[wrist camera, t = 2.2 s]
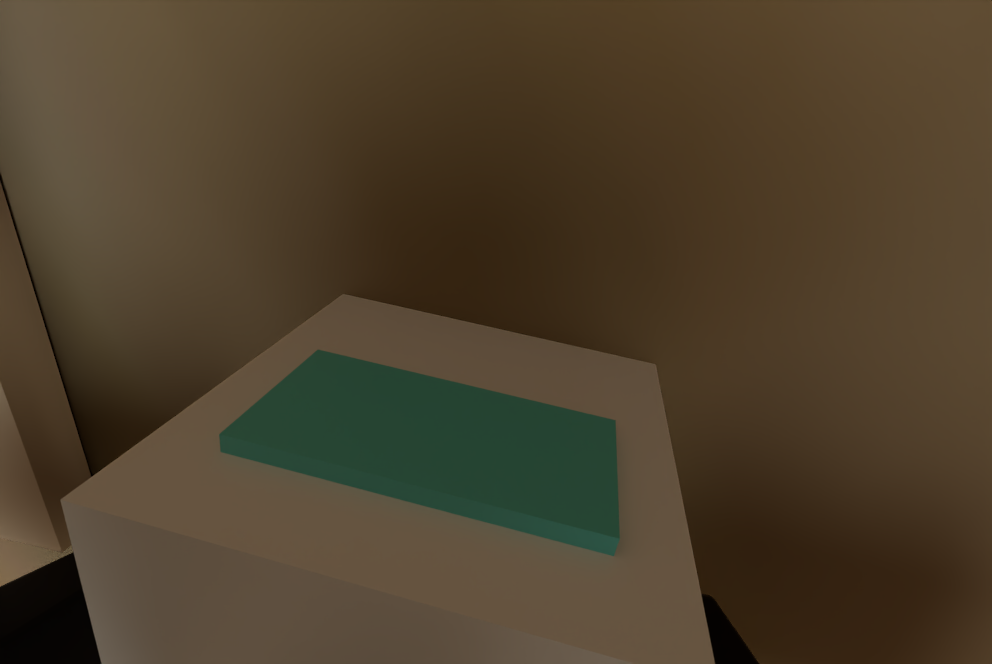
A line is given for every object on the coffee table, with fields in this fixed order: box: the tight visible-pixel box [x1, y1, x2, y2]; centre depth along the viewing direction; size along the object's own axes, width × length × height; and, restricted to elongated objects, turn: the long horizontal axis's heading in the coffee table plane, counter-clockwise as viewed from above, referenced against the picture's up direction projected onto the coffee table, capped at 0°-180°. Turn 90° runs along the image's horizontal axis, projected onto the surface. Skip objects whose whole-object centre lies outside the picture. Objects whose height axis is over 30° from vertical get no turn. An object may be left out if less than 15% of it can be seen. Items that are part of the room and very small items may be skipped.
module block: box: [60, 294, 715, 664], centre depth 8 cm, size 8×5×5 cm, turn 171°
